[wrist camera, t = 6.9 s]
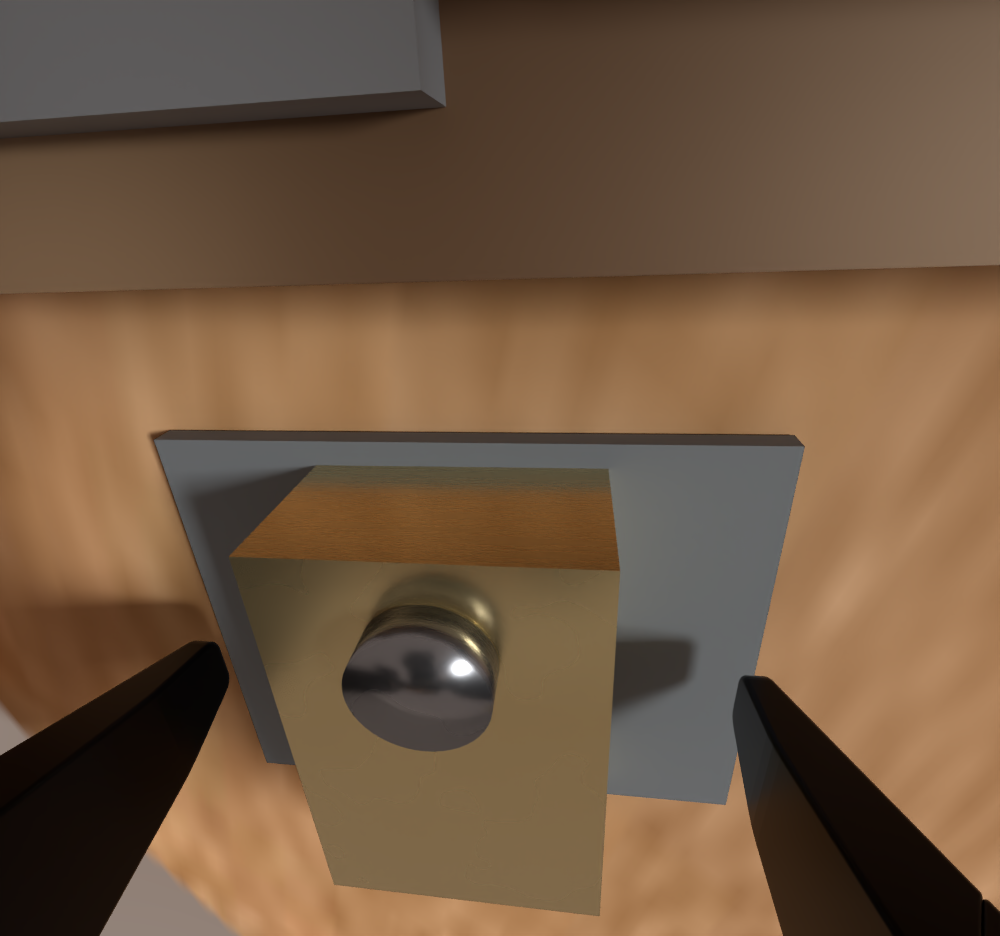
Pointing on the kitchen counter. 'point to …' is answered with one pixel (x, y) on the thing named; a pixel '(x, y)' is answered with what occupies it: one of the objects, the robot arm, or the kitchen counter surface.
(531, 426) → the kitchen counter surface
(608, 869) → the kitchen counter surface
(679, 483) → the mat
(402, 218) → the plane body
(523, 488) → the lever cap
